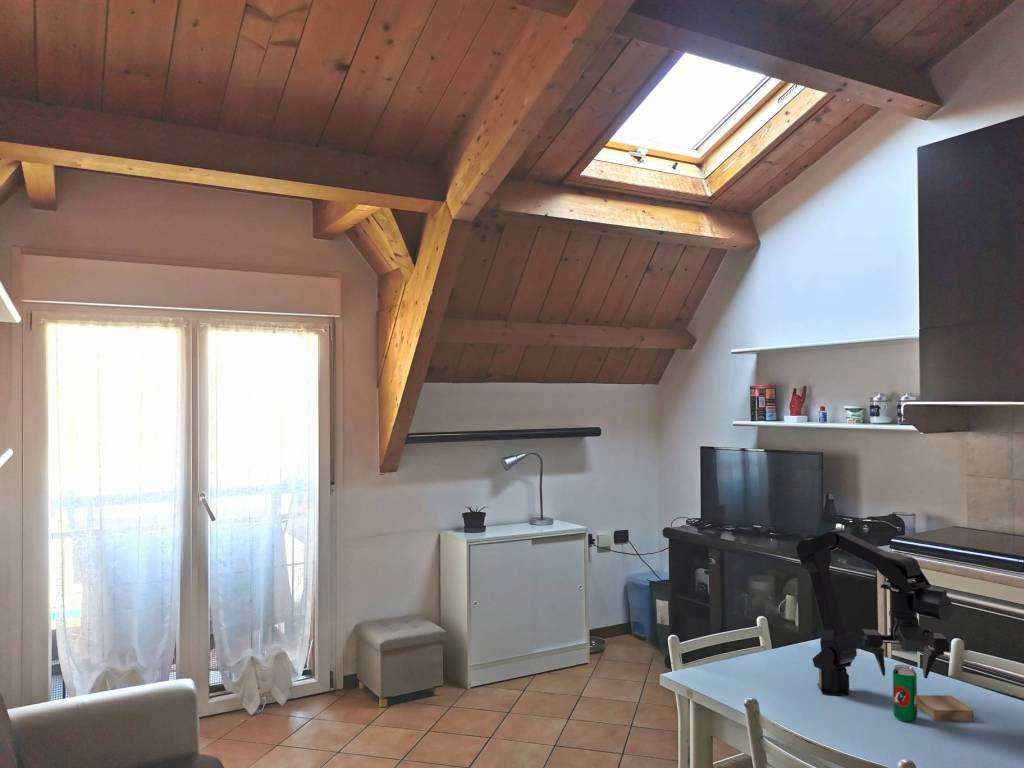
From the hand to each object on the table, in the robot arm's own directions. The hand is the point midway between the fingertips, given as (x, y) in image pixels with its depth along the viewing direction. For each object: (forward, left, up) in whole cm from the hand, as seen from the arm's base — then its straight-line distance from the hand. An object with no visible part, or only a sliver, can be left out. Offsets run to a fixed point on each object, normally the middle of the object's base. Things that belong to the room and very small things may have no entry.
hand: (904, 676), depth 177 cm
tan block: (+10, +5, -10) cm, 15 cm away
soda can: (0, 0, -10) cm, 10 cm away
